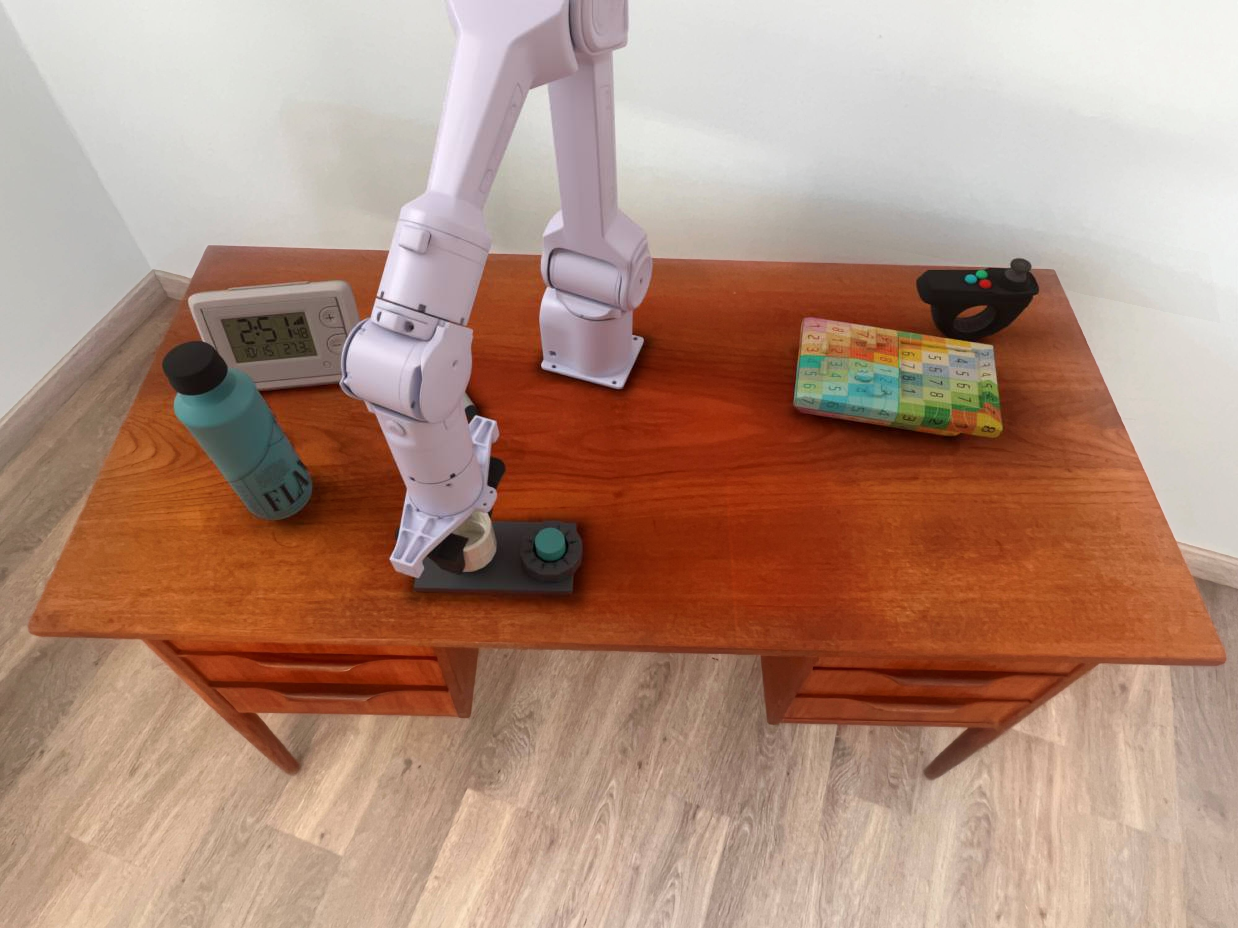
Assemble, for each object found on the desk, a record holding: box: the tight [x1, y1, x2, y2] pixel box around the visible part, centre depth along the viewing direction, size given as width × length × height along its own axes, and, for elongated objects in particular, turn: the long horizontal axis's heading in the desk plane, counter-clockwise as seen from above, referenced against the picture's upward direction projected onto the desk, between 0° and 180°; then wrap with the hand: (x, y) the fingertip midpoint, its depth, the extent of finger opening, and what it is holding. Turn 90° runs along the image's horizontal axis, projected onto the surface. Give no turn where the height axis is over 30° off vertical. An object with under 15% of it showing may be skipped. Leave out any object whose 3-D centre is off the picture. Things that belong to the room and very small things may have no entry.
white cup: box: [451, 512, 497, 572], centre depth 65 cm, size 5×5×4 cm
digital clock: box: [187, 279, 362, 392], centre depth 77 cm, size 16×9×11 cm, turn 86°
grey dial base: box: [413, 520, 584, 596], centre depth 67 cm, size 15×7×2 cm, turn 89°
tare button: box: [535, 528, 566, 561], centre depth 65 cm, size 3×3×2 cm
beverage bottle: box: [161, 340, 314, 521], centre depth 63 cm, size 6×7×20 cm
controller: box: [915, 257, 1040, 341], centre depth 81 cm, size 4×12×10 cm, turn 88°
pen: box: [462, 391, 480, 421], centre depth 81 cm, size 1×16×1 cm, turn 32°
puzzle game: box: [792, 317, 1004, 439], centre depth 77 cm, size 12×5×20 cm
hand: (466, 543), depth 66 cm, fingers closed on white cup, 5 cm apart
